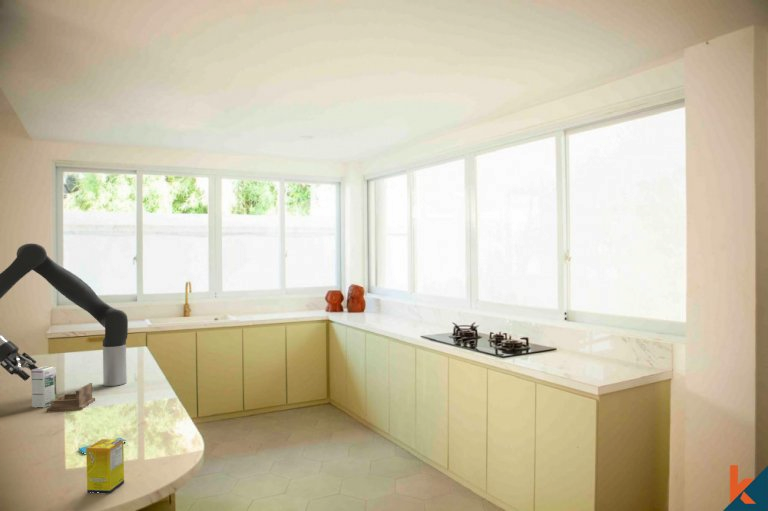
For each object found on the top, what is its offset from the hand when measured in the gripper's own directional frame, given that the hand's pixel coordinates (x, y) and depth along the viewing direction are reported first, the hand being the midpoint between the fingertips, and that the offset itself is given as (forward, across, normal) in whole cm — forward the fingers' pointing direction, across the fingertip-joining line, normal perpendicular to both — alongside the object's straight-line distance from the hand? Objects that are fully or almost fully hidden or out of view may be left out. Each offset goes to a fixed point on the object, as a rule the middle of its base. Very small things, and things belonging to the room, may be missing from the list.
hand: (33, 376), depth 195 cm
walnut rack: (+18, -3, -2) cm, 19 cm away
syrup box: (+11, 0, +6) cm, 12 cm away
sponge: (+39, -51, -22) cm, 68 cm away
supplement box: (+47, -80, -30) cm, 98 cm away
